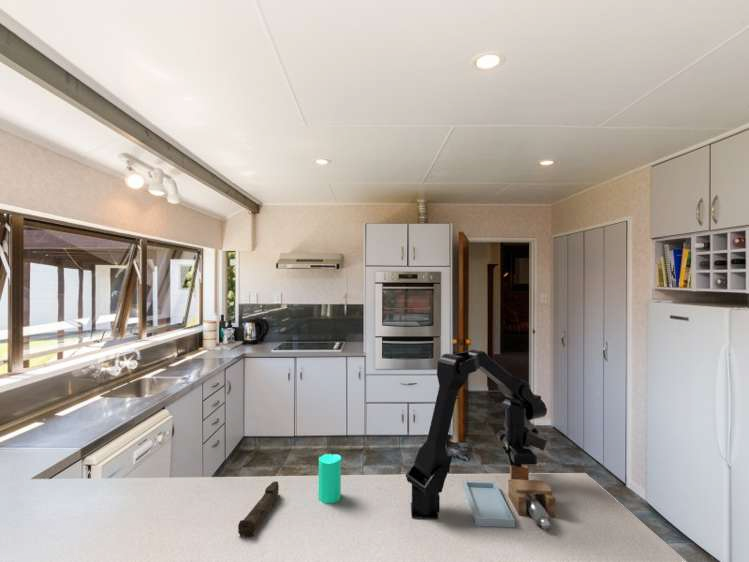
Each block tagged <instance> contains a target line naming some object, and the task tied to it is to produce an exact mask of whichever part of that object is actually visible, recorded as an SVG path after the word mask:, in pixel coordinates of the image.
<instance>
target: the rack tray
mask: <svg viewBox="0 0 749 562" xmlns="http://www.w3.org/2000/svg"><path fill="white" fill-rule="evenodd" d="M462 487H463V490H464V493H465V497H466V500H467V502H468V506H469V509H470V511H471V514H472V518H473V520H474V524H475V526H480V527H495V528H496V527H498V528H499V527H500V528H502V527H503V528H515V527H516V520H515V518H514V516H513V514H512V512H511V510H510V508H509V506H508V504H507V503H506V500H505V499H504V497H503V495H502V492H501V491H500V488H499V487H498V485H497V483H496V481H479V480H477V481H473V480H463V481H462Z"/></svg>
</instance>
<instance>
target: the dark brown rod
mask: <svg viewBox="0 0 749 562" xmlns="http://www.w3.org/2000/svg"><path fill="white" fill-rule="evenodd" d="M279 491H280V490H279V482H278V481H276V480H275V481H272V483H270V484H269V485H268V486H267V487H265V490H264V494H263V495H262V497H261V498H260V499H259V500H258V501H257V503H256V504H255V506H253V508H251V510H250V511H249V513H247V515H246V516H245V517H244V519H242V520H240V521H239V522H238V525H237V527H238V528H237V533H238V534H239V536H240V537H245V538H251V537H253V536H254V535H255V533H256V532H257V529H258V527H259V525H260V524H261V523H262V521H263V520H264V518H265V517H266V515H267V514H268V512H269V511H270V510H271V508H272V507H274V506H276V504H277V501H278V497H279Z"/></svg>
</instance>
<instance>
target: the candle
mask: <svg viewBox="0 0 749 562" xmlns="http://www.w3.org/2000/svg"><path fill="white" fill-rule="evenodd" d="M341 476H342V457H341V455H339V454H337V453H336V454H331V453H329V454H328V453H325V454H324V455H322V456H319V457H318V487H317V488H318V491H317V492H318V500H319V501H320V502H321V503H323V504H334V503H336V502H339V501H340V499H341V497H342V496H341V493H342V490H341V488H342V487H341V486H342V484H341V483H342V481H341V480H342V477H341Z"/></svg>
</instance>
